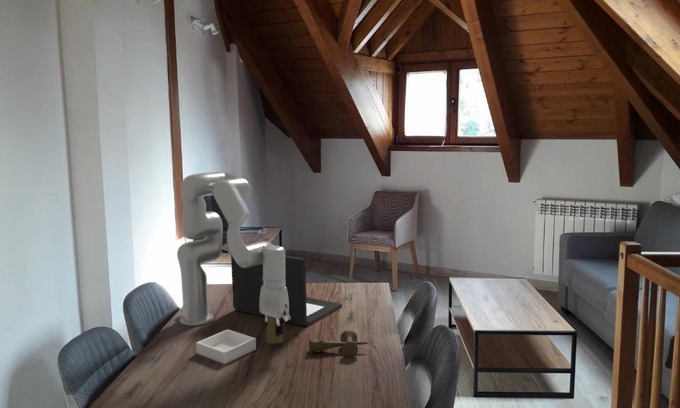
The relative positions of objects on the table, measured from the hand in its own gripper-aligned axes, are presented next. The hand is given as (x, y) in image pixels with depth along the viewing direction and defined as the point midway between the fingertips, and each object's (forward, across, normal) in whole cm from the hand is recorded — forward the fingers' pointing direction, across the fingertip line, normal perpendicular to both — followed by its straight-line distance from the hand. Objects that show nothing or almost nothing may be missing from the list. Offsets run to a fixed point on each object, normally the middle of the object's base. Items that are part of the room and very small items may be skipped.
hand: (275, 333), depth 182 cm
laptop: (+6, -22, +31) cm, 39 cm away
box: (+5, -11, -12) cm, 17 cm away
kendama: (+5, +20, +10) cm, 23 cm away
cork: (+3, 0, 0) cm, 3 cm away
